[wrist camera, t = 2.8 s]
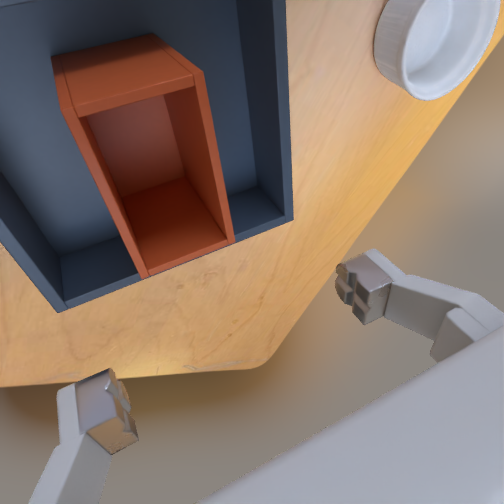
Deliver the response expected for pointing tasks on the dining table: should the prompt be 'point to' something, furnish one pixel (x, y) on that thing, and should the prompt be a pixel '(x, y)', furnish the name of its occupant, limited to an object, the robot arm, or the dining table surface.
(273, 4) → the outer bin
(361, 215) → the dining table surface
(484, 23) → the ramekin
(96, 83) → the tote
